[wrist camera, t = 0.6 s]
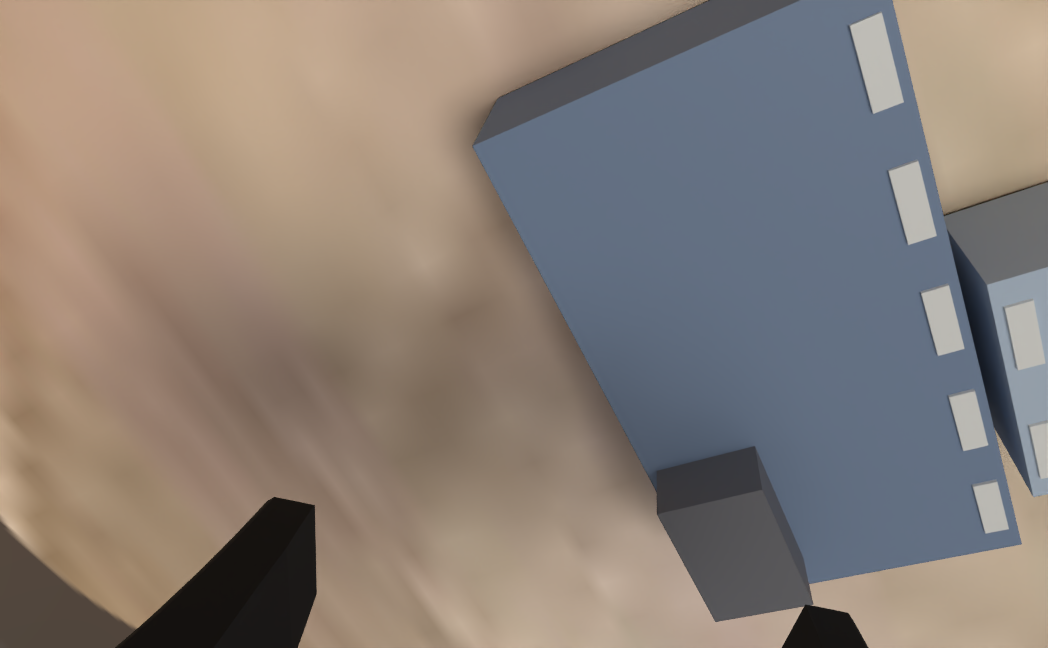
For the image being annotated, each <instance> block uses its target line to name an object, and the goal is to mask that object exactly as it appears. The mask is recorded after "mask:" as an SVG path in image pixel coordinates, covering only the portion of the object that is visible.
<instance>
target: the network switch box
mask: <svg viewBox="0 0 1048 648" xmlns="http://www.w3.org/2000/svg"><path fill="white" fill-rule="evenodd" d="M473 148H474V150H475V152H476V154H477V156H478V158H479V159H480V161H481V163H482V165H483V167H484V169H485V171H486V173H487V174H488V176H489V178H490V180H491V182H492V184H493V186H494V188H495V189H496V191H497V193H498V195H499V197H500V199H501V201H502V203H503V205H504V206H505V208H506V210H507V212H508V214H509V216H510V218H511V220H512V221H513V223H514V225H515V227H516V229H517V231H518V233H519V235H520V236H521V238H522V240H523V242H524V244H525V246H526V248H527V250H528V251H529V253H530V255H531V257H532V259H533V261H534V263H535V265H536V266H537V268H538V270H539V272H540V274H541V276H542V278H543V280H544V281H545V283H546V285H547V287H548V289H549V291H550V293H551V295H552V296H553V298H554V300H555V302H556V304H557V306H558V308H559V310H560V311H561V313H562V315H563V317H564V319H565V321H566V323H567V325H568V326H569V328H570V330H571V332H572V334H573V336H574V338H575V340H576V341H577V343H578V345H579V347H580V349H581V351H582V353H583V355H584V356H585V358H586V360H587V362H588V364H589V366H590V368H591V370H592V372H593V373H594V375H595V377H596V379H597V381H598V383H599V385H600V387H601V388H602V390H603V392H604V394H605V396H606V398H607V400H608V402H609V403H610V405H611V407H612V409H613V411H614V413H615V415H616V417H617V418H618V420H619V422H620V424H621V426H622V428H623V430H624V432H625V433H626V435H627V437H628V439H629V441H630V443H631V445H632V447H633V448H634V450H635V452H636V454H637V456H638V458H639V460H640V462H641V463H642V465H643V467H644V469H645V471H646V473H647V475H648V477H649V478H650V480H651V482H652V484H653V486H654V488H655V490H656V492H657V515H658V517H659V519H660V521H661V523H662V524H663V526H664V528H665V530H666V532H667V534H668V535H669V537H670V539H671V541H672V543H673V545H674V547H675V548H676V550H677V552H678V554H679V556H680V558H681V559H682V561H683V563H684V565H685V567H686V569H687V570H688V572H689V574H690V576H691V578H692V580H693V582H694V583H695V585H696V587H697V589H698V591H699V593H700V594H701V596H702V598H703V600H704V602H705V604H706V605H707V607H708V609H709V611H710V613H711V615H712V617H713V618H714V620H715V622H718V621H724V620H730V619H735V618H741V617H746V616H752V615H758V614H763V613H769V612H775V611H780V610H786V609H792V608H797V607H803V606H805V604H806V605H813V601H812V596H811V591H810V587H809V584H811V583H817V582H822V581H828V580H833V579H838V578H844V577H849V576H854V575H860V574H865V573H870V572H876V571H881V570H886V569H892V568H897V567H903V566H908V565H913V564H919V563H924V562H929V561H935V560H940V559H945V558H951V557H956V556H961V555H967V554H972V553H978V552H983V551H988V550H994V549H999V548H1004V547H1010V546H1015V545H1020V544H1022V543H1021V539H1020V535H1019V531H1018V526H1017V522H1016V518H1015V514H1014V510H1013V505H1012V501H1011V497H1010V493H1009V489H1008V484H1007V480H1006V476H1005V472H1004V468H1003V463H1002V459H1001V455H1000V451H999V447H998V442H997V438H996V434H995V430H994V426H993V421H992V417H991V413H990V409H989V405H988V400H987V396H986V392H985V388H984V384H983V379H982V375H981V371H980V367H979V363H978V358H977V354H976V350H975V346H974V342H973V337H972V333H971V329H970V325H969V321H968V316H967V312H966V308H965V304H964V300H963V295H962V291H961V287H960V283H959V279H958V274H957V270H956V266H955V262H954V258H953V253H952V249H951V245H950V241H949V237H948V232H947V228H946V224H945V220H944V216H943V211H942V207H941V203H940V199H939V195H938V190H937V186H936V182H935V178H934V174H933V169H932V165H931V161H930V157H929V153H928V148H927V144H926V140H925V136H924V132H923V127H922V123H921V119H920V115H919V111H918V106H917V102H916V98H915V94H914V90H913V85H912V81H911V77H910V73H909V69H908V64H907V60H906V56H905V52H904V48H903V43H902V39H901V35H900V31H899V27H898V22H897V18H896V14H895V10H894V6H893V1H892V0H709V1H707V2H705V3H703V4H701V5H698V6H696V7H694V8H692V9H690V10H688V11H685V12H683V13H681V14H679V15H677V16H675V17H672V18H670V19H668V20H666V21H664V22H662V23H660V24H657V25H655V26H653V27H651V28H649V29H647V30H644V31H642V32H640V33H638V34H636V35H634V36H632V37H629V38H627V39H625V40H623V41H621V42H619V43H616V44H614V45H612V46H610V47H608V48H606V49H603V50H601V51H599V52H597V53H595V54H593V55H591V56H588V57H586V58H584V59H582V60H580V61H578V62H575V63H573V64H571V65H569V66H567V67H565V68H562V69H560V70H558V71H556V72H554V73H552V74H550V75H547V76H545V77H543V78H541V79H539V80H537V81H534V82H532V83H530V84H528V85H526V86H524V87H521V88H519V89H517V90H515V91H513V92H511V93H509V94H506V95H504V96H502V97H500V98H498V99H497V101H496V103H495V105H494V107H493V108H492V110H491V112H490V114H489V116H488V118H487V120H486V122H485V123H484V125H483V127H482V129H481V131H480V133H479V135H478V137H477V138H476V140H475V142H474V144H473Z"/></svg>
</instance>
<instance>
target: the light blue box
mask: <svg viewBox="0 0 1048 648" xmlns="http://www.w3.org/2000/svg"><path fill="white" fill-rule="evenodd" d="M944 220H945V224H946V228H947V232H948V237H949V241H950V245H951V249H952V253H953V258H954V262H955V266H956V270H957V274H958V279H959V283H960V287H961V291H962V295H963V300H964V304H965V308H966V312H967V316H968V321H969V325H970V329H971V333H972V337H973V342H974V346H975V350H976V354H977V358H978V363H979V367H980V371H981V375H982V379H983V384H984V388H985V392H986V396H987V400H988V405H989V409H990V413H991V417H992V421H993V426H994V428H995V430H996V431H997V433H998V435H999V437H1000V438H1001V440H1002V442H1003V444H1004V446H1005V447H1006V449H1007V451H1008V453H1009V454H1010V456H1011V458H1012V460H1013V462H1014V463H1015V465H1016V467H1017V469H1018V470H1019V472H1020V474H1021V476H1022V478H1023V479H1024V481H1025V483H1026V485H1027V486H1028V488H1029V490H1030V492H1031V494H1032V495H1033V497H1036V496H1040V495H1045V494H1048V182H1046V183H1043V184H1040V185H1037V186H1034V187H1031V188H1028V189H1025V190H1022V191H1019V192H1016V193H1013V194H1010V195H1007V196H1004V197H1001V198H998V199H995V200H992V201H989V202H986V203H983V204H979V205H976V206H973V207H970V208H967V209H964V210H961V211H958V212H955V213H952V214H949V215H946V216H944Z"/></svg>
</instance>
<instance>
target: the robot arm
mask: <svg viewBox="0 0 1048 648" xmlns="http://www.w3.org/2000/svg"><path fill="white" fill-rule="evenodd" d="M316 594H317V589H316V542H315V505H311V504H306V503H301V502H296V501H291V500H286V499H281V498H276V497H274V498H272V499H270V500H268V501H267V502H266V503H265V504H264V505H263V506H262V507H261V508H260V509H259V511H258V512H257V513H256V514H255V515H254V516H253V517H252V518H251V519H250V520H249V521H248V522H247V523H246V524H245V525H244V526H243V528H242V529H241V530H240V531H239V532H238V533H237V534H236V535H235V536H234V537H233V538H232V539H231V540H230V541H229V542H228V543H227V544H226V545H225V546H224V547H223V548H222V549H221V550H220V551H219V552H218V553H217V554H216V555H215V556H214V557H213V558H212V559H211V560H210V561H209V562H208V563H207V564H206V565H205V566H204V567H203V568H202V569H201V570H200V571H199V572H198V573H197V574H196V575H195V576H194V577H193V578H192V579H191V580H190V581H188V582H187V583H186V584H185V585H184V586H183V587H182V588H181V589H180V590H179V591H178V592H177V593H176V594H175V595H174V596H172V597H171V598H170V599H169V600H168V601H167V602H166V603H165V604H164V605H163V606H162V607H161V608H160V609H159V610H158V611H157V612H155V613H154V614H153V615H152V616H151V617H150V618H149V619H148V620H147V621H145V622H144V623H143V624H142V625H141V626H140V627H139V628H137V629H136V630H135V631H134V632H133V633H132V634H131V635H129V636H128V637H127V638H126V639H125V640H124V641H122V642H121V643H120V644H119V645H118V646H117V647H115V648H298V645H299V642H300V640H301V637H302V634H303V631H304V628H305V626H306V623H307V620H308V617H309V614H310V611H311V608H312V605H313V602H314V600H315V597H316ZM782 648H868V646H867V644H866V643H865V641H864V639H863V637H862V635H861V634H860V632H859V630H858V628H857V627H856V625H855V623H854V621H853V619H852V618H851V616H850V615H849V613H846V612H841V611H836V610H831V609H826V608H821V607H816V606H811V605H806V604H805V606H804V608H803V610H802V612H801V614H800V615H799V617H798V619H797V621H796V623H795V625H794V626H793V628H792V630H791V632H790V634H789V635H788V637H787V639H786V641H785V643H784V645H783V646H782Z"/></svg>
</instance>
